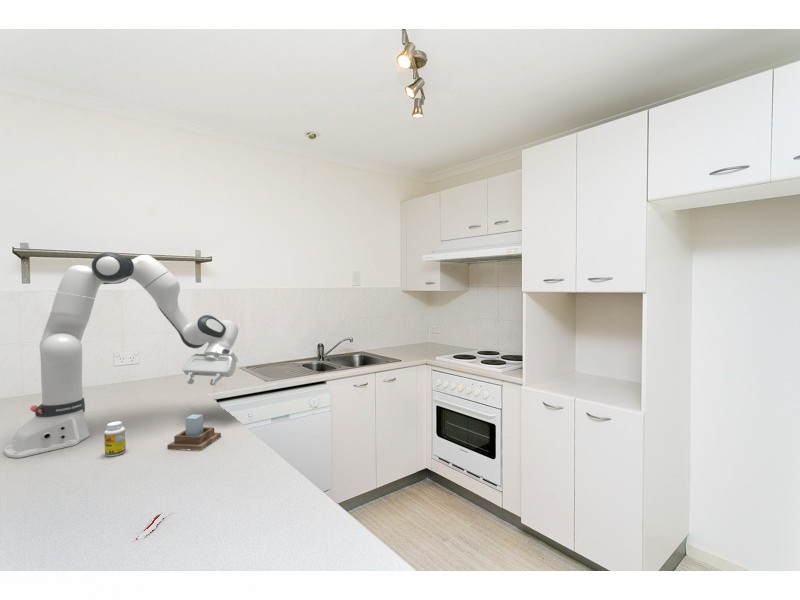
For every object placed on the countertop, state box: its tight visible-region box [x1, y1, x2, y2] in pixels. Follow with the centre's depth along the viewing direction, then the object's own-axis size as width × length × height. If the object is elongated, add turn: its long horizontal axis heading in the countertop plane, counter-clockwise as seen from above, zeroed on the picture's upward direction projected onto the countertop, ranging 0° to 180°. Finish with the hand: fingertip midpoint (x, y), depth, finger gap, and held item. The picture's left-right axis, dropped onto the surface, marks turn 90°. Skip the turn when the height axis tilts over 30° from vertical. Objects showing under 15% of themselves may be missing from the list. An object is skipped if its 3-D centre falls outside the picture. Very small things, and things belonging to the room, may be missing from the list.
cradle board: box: [166, 426, 222, 451], centre depth 138 cm, size 12×12×4 cm
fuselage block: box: [184, 414, 204, 436], centre depth 138 cm, size 4×4×8 cm
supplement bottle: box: [103, 420, 127, 457], centre depth 130 cm, size 6×6×10 cm
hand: (200, 384), depth 152 cm, fingers open, 8 cm apart
